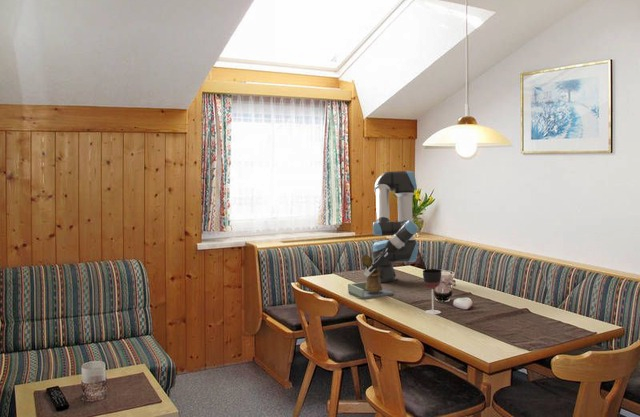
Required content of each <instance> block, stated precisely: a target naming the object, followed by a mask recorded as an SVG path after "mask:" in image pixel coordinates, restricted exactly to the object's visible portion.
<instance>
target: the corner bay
mask: <svg viewBox="0 0 640 417" xmlns="http://www.w3.org/2000/svg"><path fill="white" fill-rule="evenodd" d="M366 282H367V281H361V282H355V283H348V284H347V292H348V294H349V295H352V296H354V297H356V298H359V299H361V300H366V299H367V300H368V299H373V298H379V297H385V296H392V295H394V292H393V291H391V290H388V289H386V288H383V287H382V290H381V291H377V292H370V291H366V289H365V288H366Z"/></svg>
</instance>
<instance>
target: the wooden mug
mask: <svg viewBox="0 0 640 417" xmlns="http://www.w3.org/2000/svg"><path fill="white" fill-rule="evenodd" d="M361 261H362V264H363V265H364V266H365V267H366V268H367V270H368V269H369V268H370V267H371V264H372V263H373V258H372V257H371V256H370V255H367V254H364V255H363V256H362V257H361ZM365 282H366V288H365V289H366V291H370V292H377V291H381V290H382V288H383V286H382V282H381V281H380V273H379V269H375V270H374V271H373V272H372V273H371V274H370V275H369V276H368V277H366V281H365Z"/></svg>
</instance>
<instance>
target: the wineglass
mask: <svg viewBox="0 0 640 417" xmlns="http://www.w3.org/2000/svg"><path fill="white" fill-rule="evenodd" d="M422 276H423V281H424V282H423V283H424V285H425V286H426V287H427V288H429V289H431V309H428V310H427V309H426V310H425V312H424V313H425V314H428V315H438V314H441V313H442V312H441V311H440V310H436V309H434V306H435V305H434V289H436V288H437V287H439V286H440V284H441V280H442V270H441V269H438V268H437V269H436V268H428V269H423V270H422Z"/></svg>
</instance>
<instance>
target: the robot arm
mask: <svg viewBox="0 0 640 417" xmlns="http://www.w3.org/2000/svg"><path fill="white" fill-rule="evenodd" d="M417 188H418V187H417V180H416V174H415V172H414V171H411V170H399V171H386V172H383V173H382V174H381V175H380V176H378V177H377V179H376V180H375V182H374V186H373V191H374V194H375V220H376V221H373V223H372V233H373V236H391V237H390V239H384V240H379V241H376V242H374V243H373V244H372V245H373V246H372V262H373V263H372V264H371V267H370V268H369V269H368V270H367V267H366V268H365V269H364V270H365V272H364V273H363V275H364V277H366V278H367V277H368V276H369V275H370V274H371V273H372V272H373V271H374V270H375V269H379V273H380V281H381V283H390V282H391V283H392V282H394V281H396V280H397V275H396V271H395V268H394V263H414V262H416V261H417V260H418V259H417V258H418V253H419V252H418V250H419V242H417V241H416V238H415V237H414V235H416V234H417V232H418V231H419V230H420V229H419V226H418V225H417V224H416V223H415V222H414V221H413V220H414V219H413V196H414V194H415V191H417ZM391 192H394V195H395V196H396V197H397V199H396V200H397V221H391V219H390V215H391V214H390V193H391Z"/></svg>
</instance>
